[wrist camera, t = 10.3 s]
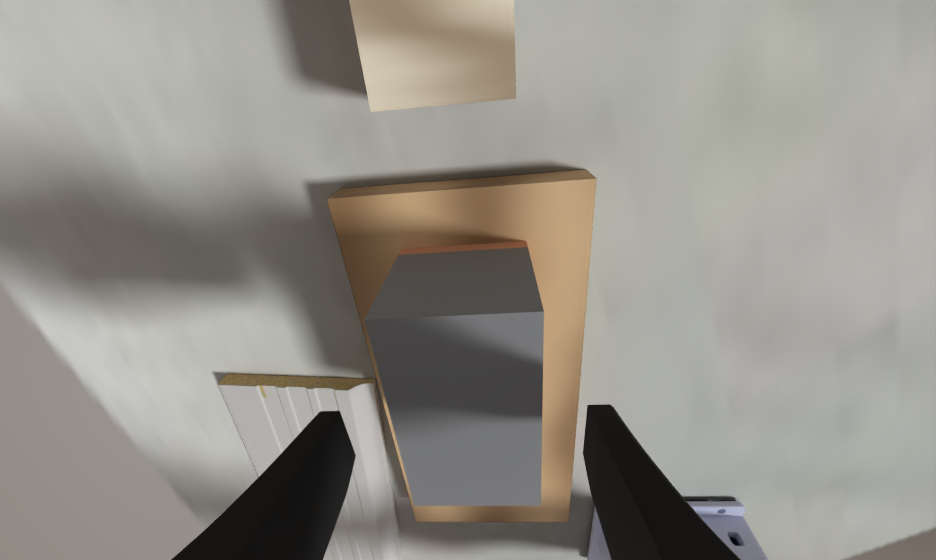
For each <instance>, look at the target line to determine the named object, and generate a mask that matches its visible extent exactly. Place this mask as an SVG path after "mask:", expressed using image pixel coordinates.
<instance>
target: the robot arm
mask: <svg viewBox="0 0 936 560" xmlns="http://www.w3.org/2000/svg"><path fill="white" fill-rule="evenodd" d="M583 455H584V460H585V466H586V471H587V476H588V481H589V486H590V490H591V494H592V498H593V501H594V504H595V507H594V514H593V521H592V528H591V535H590V543H589V550H588V557H587V560H768V558H767V557H766V555H765V553H764V551H763V550H762V548H761V546H760V545H759V543H758V541H757V540H756V538H755V536H754V534H753V533H752V531H751V529H750V528H749V526H748V524H747V523H746V521H745V519H744V517H743V515H744V512H745V507H744V506H743V504H742V503H741V502H739V501H686V500H685V499H684V498H683V497H682V496H681V495H680V493H679V492H678V491H677V490H676V489H675V487H674V486H673V485H672V484H671V483H670V481H669V480H668V479H667V478H666V477H665V475H664V474H663V473H662V472H661V470H660V469H659V468H658V467H657V465H656V464H655V463H654V462H653V461H652V459H651V458H650V457H649V455H648V454H647V453H646V452H645V450H644V449H643V448H642V446H641V445H640V444H639V442H638V441H637V440H636V438H635V437H634V436H633V434H632V433H631V432H630V430H629V429H628V427H627V426H626V425H625V423H624V422H623V420H622V419H621V418H620V416H619V415H618V413H617V412H616V410H615V409H614V407H612V406H611V405H588V407H587V418H586V428H585V438H584V449H583ZM355 457H356V455H355V452H354V449H353V446H352V444H351V441H350V438H349V435H348V432H347V430H346V427H345V424H344V421H343V418H342V416H341V413H340V411H320V412H319V413H318V414H317V415H316V416H315V417H314V418H313V419H312V421H311V422H310V423H309V424H308V425H307V426H306V427H305V428H304V429H303V430H302V431H301V432H300V434H299V435H298V436H297V437H296V438H295V439H294V440H293V441H292V442H291V443H290V444H289V446H288V447H287V448H286V449H285V450H284V451H283V452H282V453H281V454H280V455H279V456H278V457H277V459H276V460H275V461H274V462H273V463H272V464H271V465H270V466H269V467H268V468H267V469H266V470H265V471H264V472H263V473H262V474H261V475H260V477H259V478H258V479H257V480H256V481H255V482H254V483H253V484H252V485H251V486H250V487H249V488H248V489H247V490H246V491H245V492H244V493H243V494H242V495H241V496H240V497H239V498H238V499H237V500H236V501H235V502H234V503H233V504H232V505H231V506H230V507H229V508H228V509H227V510H226V511H225V512H224V513H223V514H222V515H221V516H219V517H218V518H217V519H216V520H215V521H214V522H213V523H212V524H211V525H210V526H209V527H208V528H207V529H206V530H204V531H203V532H202V533H201V534H200V535H199V536H198V537H197V538H196V539H194V540H193V541H192V542H191V543H190V544H189V545H188V546H187V547H185V548H184V549H183V550H182V551H181V552H180V553H179V554H177V555H176V556H175V557H174V558H173V559H172V560H323V558H324V555H325V553H326V550H327V547H328V544H329V542H330V539H331V536H332V533H333V531H334V528H335V525H336V522H337V520H338V517H339V514H340V511H341V508H342V506H343V503H344V500H345V497H346V494H347V491H348V487H349V483H350V479H351V475H352V471H353V466H354V462H355Z"/></svg>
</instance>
